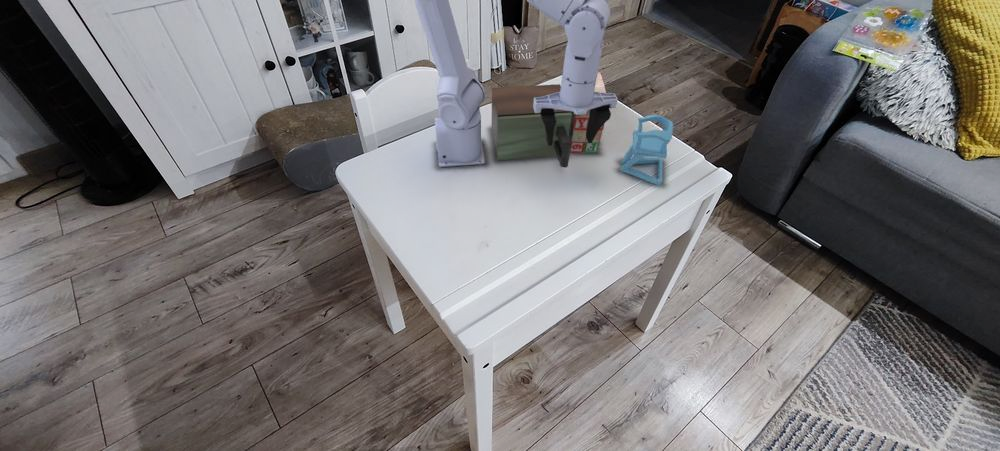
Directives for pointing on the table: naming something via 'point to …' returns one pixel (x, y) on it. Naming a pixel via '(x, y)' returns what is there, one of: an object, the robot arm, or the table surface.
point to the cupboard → (517, 102)
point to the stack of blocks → (585, 127)
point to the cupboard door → (533, 138)
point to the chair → (648, 148)
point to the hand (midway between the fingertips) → (569, 141)
